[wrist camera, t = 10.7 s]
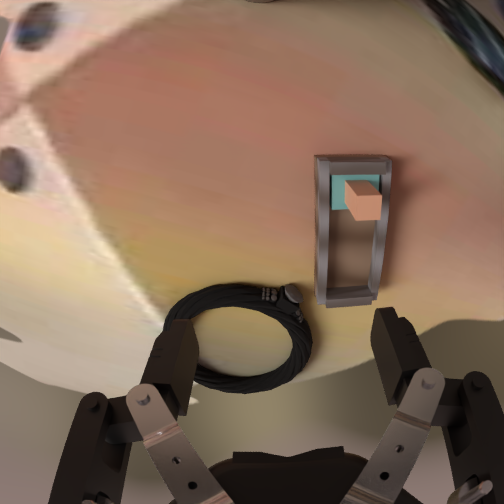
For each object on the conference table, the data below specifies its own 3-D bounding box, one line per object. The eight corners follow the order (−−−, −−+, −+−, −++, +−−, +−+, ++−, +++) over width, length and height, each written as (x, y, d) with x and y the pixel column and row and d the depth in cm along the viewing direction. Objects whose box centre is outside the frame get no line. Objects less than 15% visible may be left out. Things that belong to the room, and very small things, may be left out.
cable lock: (137, 356, 56) (220, 249, 44) (143, 342, 60) (224, 237, 47) (251, 411, 63) (355, 337, 51) (252, 397, 67) (351, 322, 54)
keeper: (329, 169, 39) (342, 187, 33) (375, 169, 39) (396, 186, 32) (329, 205, 42) (341, 229, 35) (373, 204, 41) (392, 227, 34)
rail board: (314, 155, 40) (319, 162, 36) (384, 154, 39) (396, 162, 35) (313, 291, 51) (317, 308, 47) (372, 287, 50) (379, 303, 46)
